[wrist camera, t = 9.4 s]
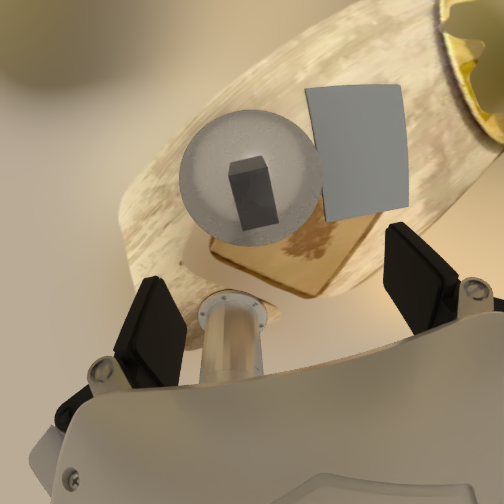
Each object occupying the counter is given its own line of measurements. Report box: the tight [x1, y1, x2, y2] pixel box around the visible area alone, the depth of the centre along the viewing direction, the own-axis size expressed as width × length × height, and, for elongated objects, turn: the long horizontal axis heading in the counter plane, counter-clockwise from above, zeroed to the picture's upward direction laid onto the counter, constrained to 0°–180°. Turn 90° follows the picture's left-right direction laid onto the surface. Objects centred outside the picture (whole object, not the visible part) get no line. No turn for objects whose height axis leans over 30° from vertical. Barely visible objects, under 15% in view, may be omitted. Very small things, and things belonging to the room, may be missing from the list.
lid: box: [179, 110, 323, 247], centre depth 22 cm, size 13×13×6 cm
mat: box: [305, 85, 409, 223], centre depth 35 cm, size 20×15×1 cm
